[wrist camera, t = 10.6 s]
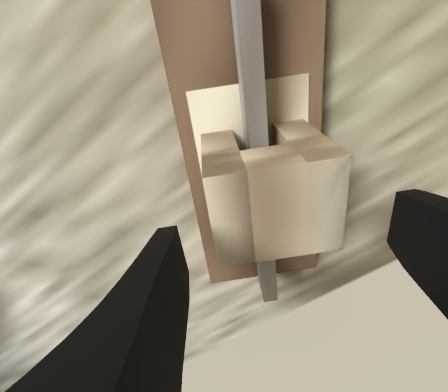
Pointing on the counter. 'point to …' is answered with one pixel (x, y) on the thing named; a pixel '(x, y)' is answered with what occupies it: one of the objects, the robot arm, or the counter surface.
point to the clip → (275, 194)
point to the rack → (241, 90)
